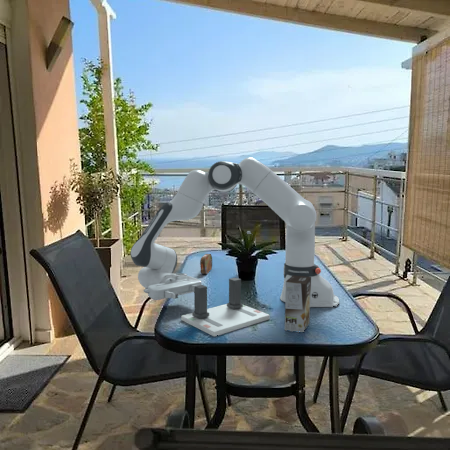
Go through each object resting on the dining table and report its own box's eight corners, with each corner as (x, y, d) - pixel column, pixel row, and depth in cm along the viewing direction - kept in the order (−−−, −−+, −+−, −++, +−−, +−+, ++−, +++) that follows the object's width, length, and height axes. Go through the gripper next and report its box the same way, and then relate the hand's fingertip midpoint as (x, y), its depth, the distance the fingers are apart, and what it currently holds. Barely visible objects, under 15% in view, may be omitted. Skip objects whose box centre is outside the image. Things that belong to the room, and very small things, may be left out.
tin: (205, 276, 202) (205, 258, 200) (199, 275, 202) (199, 258, 201) (212, 268, 216) (212, 252, 215) (206, 268, 217) (206, 251, 216)
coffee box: (304, 333, 133) (305, 283, 131) (284, 330, 136) (285, 281, 134) (309, 323, 142) (311, 276, 140) (290, 320, 144) (292, 274, 142)
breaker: (226, 306, 153) (227, 278, 151) (235, 304, 155) (235, 277, 154) (234, 309, 150) (234, 281, 148) (242, 307, 152) (243, 279, 151)
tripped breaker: (192, 315, 143) (192, 286, 142) (202, 313, 146) (201, 284, 145) (199, 319, 140) (199, 288, 139) (209, 316, 143) (209, 286, 141)
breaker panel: (181, 320, 144) (181, 315, 144) (235, 305, 160) (235, 301, 159) (214, 336, 131) (214, 331, 130) (269, 319, 146) (269, 314, 146)
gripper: (141, 281, 151) (161, 290, 141) (188, 272, 164) (210, 280, 154) (141, 298, 152) (161, 308, 142) (188, 288, 165) (210, 297, 155)
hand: (187, 293), depth 148 cm, fingers open, 8 cm apart
